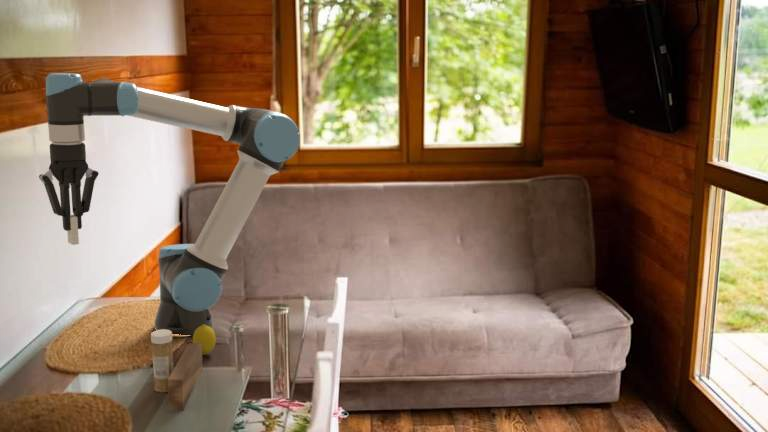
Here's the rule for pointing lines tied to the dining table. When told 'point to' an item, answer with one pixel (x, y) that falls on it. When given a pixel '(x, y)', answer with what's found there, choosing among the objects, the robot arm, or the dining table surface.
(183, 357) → the walnut board
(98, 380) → the dining table surface
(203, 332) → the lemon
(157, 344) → the sprinkles bottle
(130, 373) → the dining table surface
